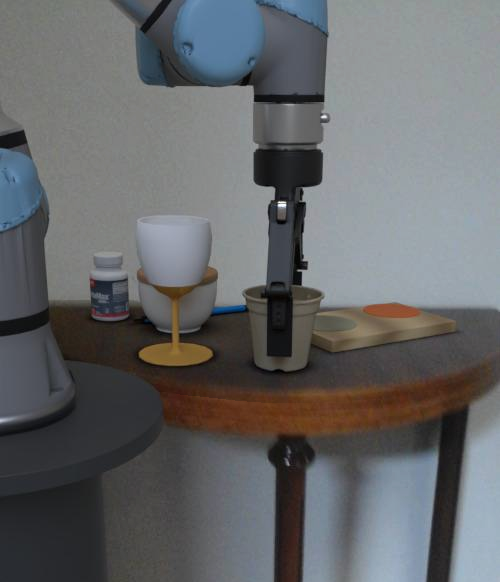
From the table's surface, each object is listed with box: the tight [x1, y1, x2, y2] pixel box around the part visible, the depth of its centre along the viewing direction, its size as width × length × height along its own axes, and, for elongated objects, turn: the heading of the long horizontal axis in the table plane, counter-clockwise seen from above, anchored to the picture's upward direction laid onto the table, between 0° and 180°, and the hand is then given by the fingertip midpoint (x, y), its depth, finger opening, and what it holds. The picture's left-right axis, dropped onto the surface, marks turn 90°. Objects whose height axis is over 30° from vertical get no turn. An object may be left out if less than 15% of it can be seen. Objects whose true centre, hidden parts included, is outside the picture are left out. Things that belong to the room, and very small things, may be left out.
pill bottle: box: [89, 251, 130, 322], centre depth 116 cm, size 5×5×9 cm
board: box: [310, 301, 457, 354], centre depth 113 cm, size 21×13×2 cm, turn 121°
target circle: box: [363, 303, 420, 318], centre depth 117 cm, size 8×8×1 cm
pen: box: [132, 304, 249, 324], centre depth 119 cm, size 1×19×1 cm
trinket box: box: [136, 265, 219, 334], centre depth 111 cm, size 11×11×9 cm
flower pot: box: [241, 284, 325, 372], centre depth 97 cm, size 9×9×9 cm
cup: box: [135, 214, 214, 367], centre depth 98 cm, size 9×9×16 cm
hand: (284, 339), depth 97 cm, fingers open, 13 cm apart
